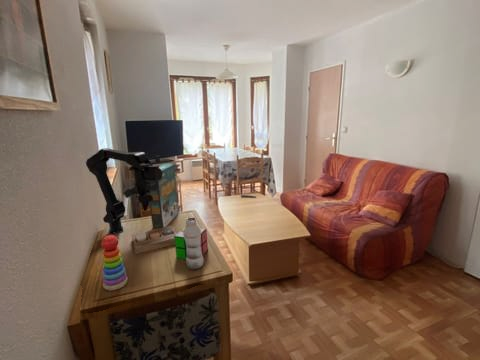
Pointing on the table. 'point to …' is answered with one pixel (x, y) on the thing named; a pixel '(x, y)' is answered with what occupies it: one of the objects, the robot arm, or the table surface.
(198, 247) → the plastic bottle
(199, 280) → the table surface
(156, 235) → the terracotta button
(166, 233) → the charcoal button
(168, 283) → the table surface
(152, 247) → the panel
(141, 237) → the cream button
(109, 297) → the table surface
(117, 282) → the stacking toy
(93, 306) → the table surface
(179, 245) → the puzzle cube
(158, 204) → the cake mix box
